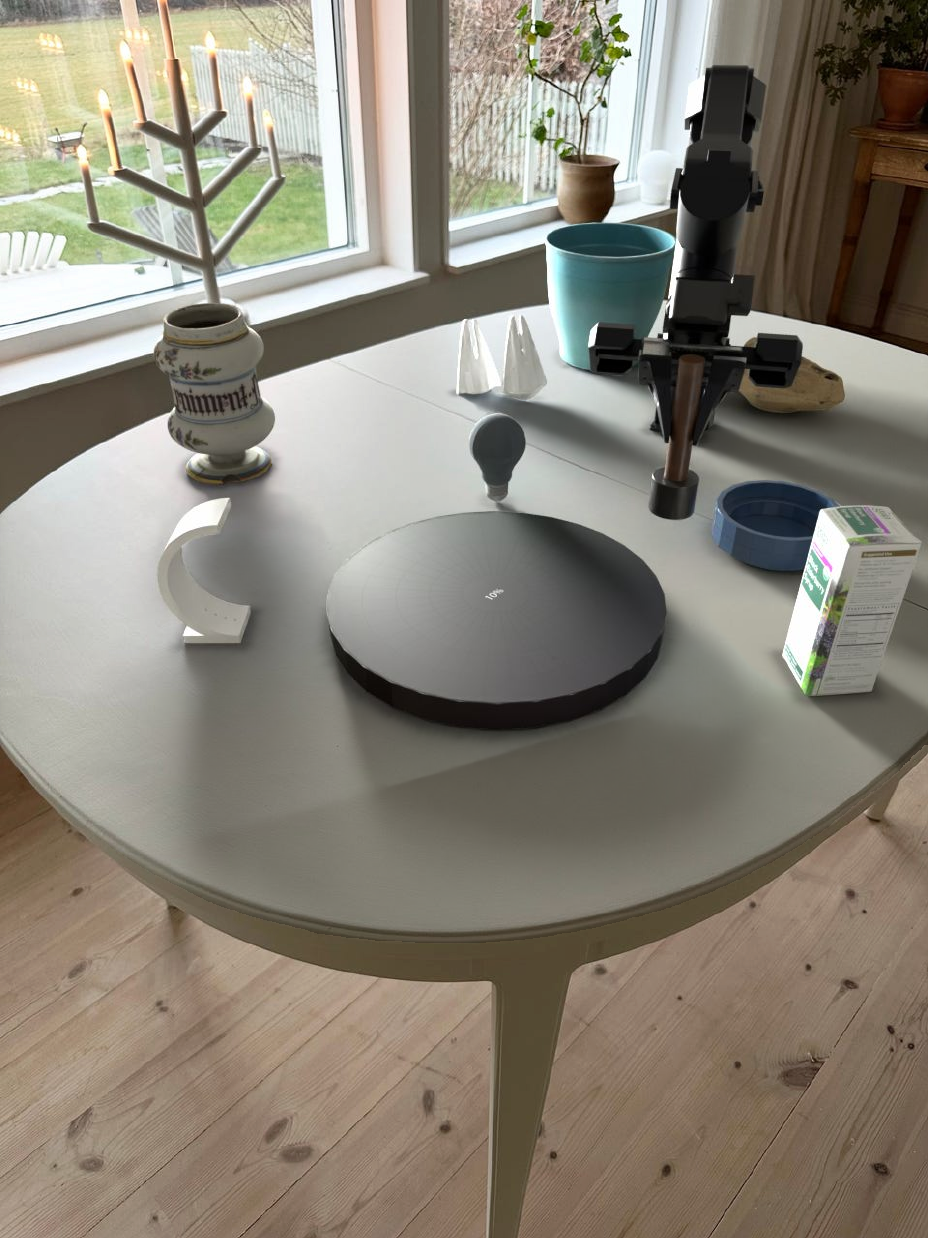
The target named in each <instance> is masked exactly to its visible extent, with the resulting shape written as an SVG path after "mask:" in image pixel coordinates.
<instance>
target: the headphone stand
mask: <svg viewBox="0 0 928 1238" xmlns="http://www.w3.org/2000/svg"><path fill="white" fill-rule="evenodd" d="M231 509H232V502H231V497H221V498H215V499H211V500H207V501H205V502H202V503H200V504H198V505H196V506H194V507H193V508H191V509H190V510H189V511H188V512H187V513H186V514H184V516H183V517H181V519H180V521H178V523H177V524H176V527H175V529H174V530H173V533H172V534H171V537H170V539H169V540H168V543H167V544H166V545H165V547H164V550H163V552H162V553H161V556H160V558H159V560H158V564H157V573H156V576H157V577H156V578H157V585H158V589H159V592H160V595H161V597H162V599H163V601H164V603H165V605H166V606H167V607H168V609H169V610H170V612H171V613H172V614H173V615H174V616H175V617H176V618H177V619H178V620H179V621H180V622H181V623H183V624H184V625H185V626H186V627H185V630H184V632H183V634H182V638H183V642H184V644H241V642H242V640H243V636H244V634H245V631H246V628H247V626H248V622H249V619H250V617H251V614H252V612H251V606H250V605H242V604H236V603H231V602H229V601H228V602H227V601H225V600H223V599H220V598H217V597H215V596H214V595H213V594H210V593H209V592H207V591H206V590H205V589H203V587H201V586H200V585H199V584H198V583H197V582H196V581H195V580H194V578H193V576H191V574H190V573H189V571H188V569H187V567H186V565H185V561H184V558H183V550H182V549H183V546H185V545H186V544H187V543H189V542H191V541H192V540H196V539H197V538H198V539H199V538H200V537H204V536H209V535H220V532H221V531H222V528H223V526H224V524H225V521H226V520H227V518H228V515H229V513H230V511H231Z"/></svg>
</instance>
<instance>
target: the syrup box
mask: <svg viewBox="0 0 928 1238" xmlns="http://www.w3.org/2000/svg"><path fill="white" fill-rule="evenodd" d="M839 506H840V507H832V508H826V509H821V510H820V513H819V517H818V521H817V524H816V528H815V532H814V536H813V540H812V543H811V547H810V551H809V555H808V559H807V563H806V566H805V570H803V574H802V577H801V582H800V585H799V589H798V593H797V596H796V597H797V598H796V600H795V605H794V607H793V612H792V616H791V619H790V623H789V627H788V632H787V636H786V640H785V643H784V647H783V651H782V658H783V659H784V660H785V662H786V664H787V666H788V668H789V669H790V671H791V673H792V675H793V676H794V678H795V680H796V682H797V683H798V685H799V687H800V689H801V690H802V692H803V694H804V695H805V697H817V696H818V697H819V696H833V695H834V696H835V695H847V694H859V693H860V694H861V693H871V692H872V690H873V689H874V684H875V682H876V679H877V676H878V673H879V670H880V667H881V665H882V662H883V659H884V656H885V653H886V650H887V647H888V643H889V640H890V637H891V636H892V633H893V629H894V626H895V623H896V619H897V617H898V614H899V612H900V608H901V605H902V602H903V600H904V597H905V594H906V590H907V588H908V585H909V583H910V579H911V577H912V574H913V573H912V572H913V570H914V567H915V565H916V562H917V558H918V556H919V552H920V550H921V546H922V541H921V540H920V539H919V538H918V537H915V536H914V534H913V533H912V531H910V529H909V528H908V527H907V526H906V525H905V524H904V522H903V521H902V520H901V519H900V518H899V517H898V516H897V515H896V514H895V513H894V512H893V511H892V509H890V508H889V507H888V506H884V505H883V506H882V505H881V506H880V505H866V504H865V505H864V504H862V505H839Z"/></svg>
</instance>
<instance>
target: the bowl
mask: <svg viewBox="0 0 928 1238" xmlns="http://www.w3.org/2000/svg"><path fill="white" fill-rule="evenodd" d="M840 506H841V505H839V503H838V502H837V501H836V500H835V499H833V498H832V497H830V496H828V495H827V494H825V493H824V492H822V491H819V490H817V489H814V488H813V487H809V486H807V485H804V484H799V483H795V482H790V481H784V480H773V479H760V480H759V479H757V480H748V481H747V480H746V481H743V482H738V483H735V484H732V485H730V486H728V487H727V488H724V490H722V491H721V492H720V493H719V495H718V497H717V498H716V501H715V507H714V513H713V519H712V520H713V521H712V525H711V537H712V539H713V541H714V542H715V543H716V545H717V547H718V548H720V549H721V550H722V551H723V552H725V553H726V554H728V555H729V556H730V557H732V558H734V559H736V560H738V561H740V562H743V563H744V564H747V565H749V566H752V567H756V568H760V569H765V570H771V571H779V572H792V571H802V570H803V571H804V570H805V566H806V563H807V559H808V555H809V551H810V547H811V543H812V540H813V536H814V532H815V528H816V524H817V521H818V517H819V513H820V510H821V509H826V508H832V507H840Z"/></svg>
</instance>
